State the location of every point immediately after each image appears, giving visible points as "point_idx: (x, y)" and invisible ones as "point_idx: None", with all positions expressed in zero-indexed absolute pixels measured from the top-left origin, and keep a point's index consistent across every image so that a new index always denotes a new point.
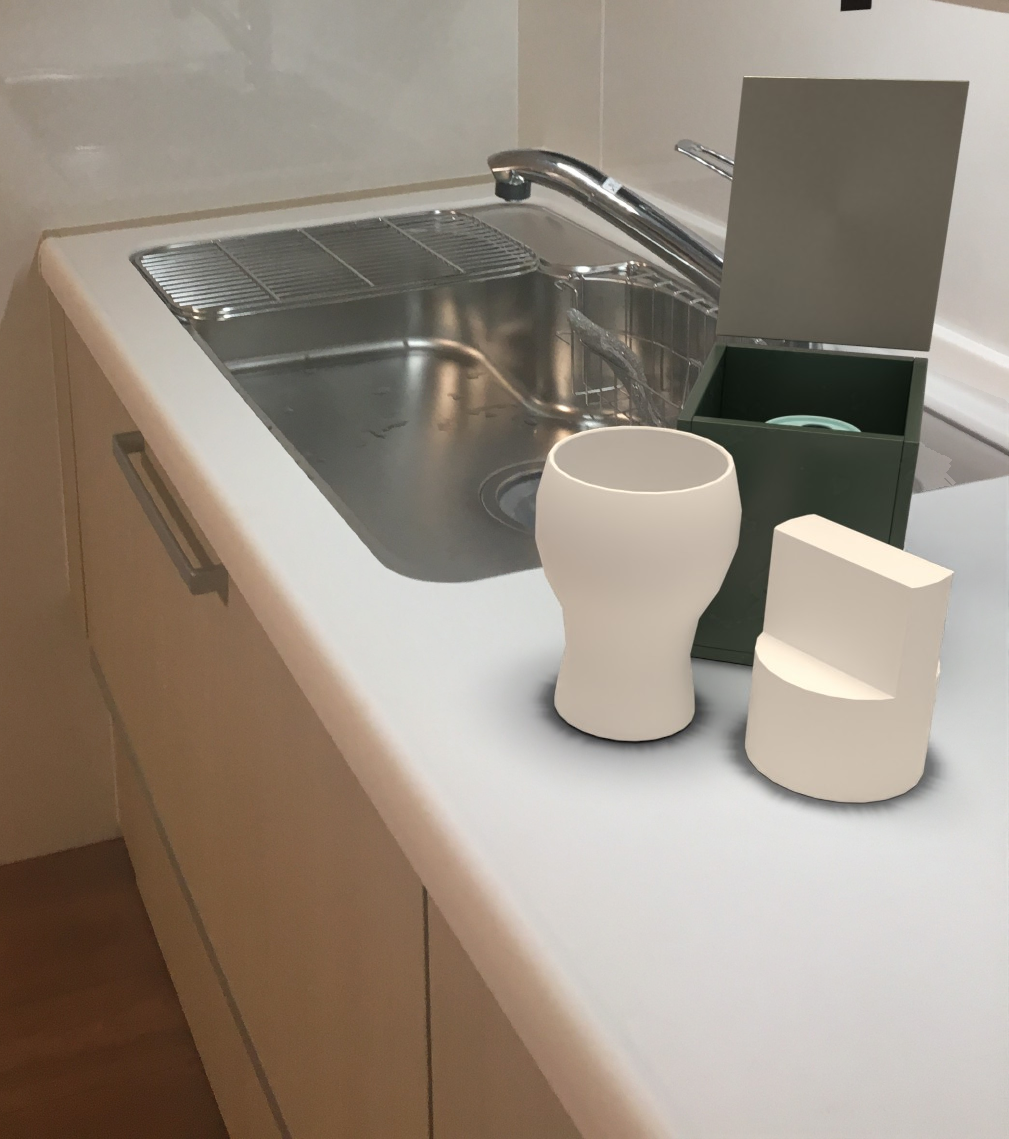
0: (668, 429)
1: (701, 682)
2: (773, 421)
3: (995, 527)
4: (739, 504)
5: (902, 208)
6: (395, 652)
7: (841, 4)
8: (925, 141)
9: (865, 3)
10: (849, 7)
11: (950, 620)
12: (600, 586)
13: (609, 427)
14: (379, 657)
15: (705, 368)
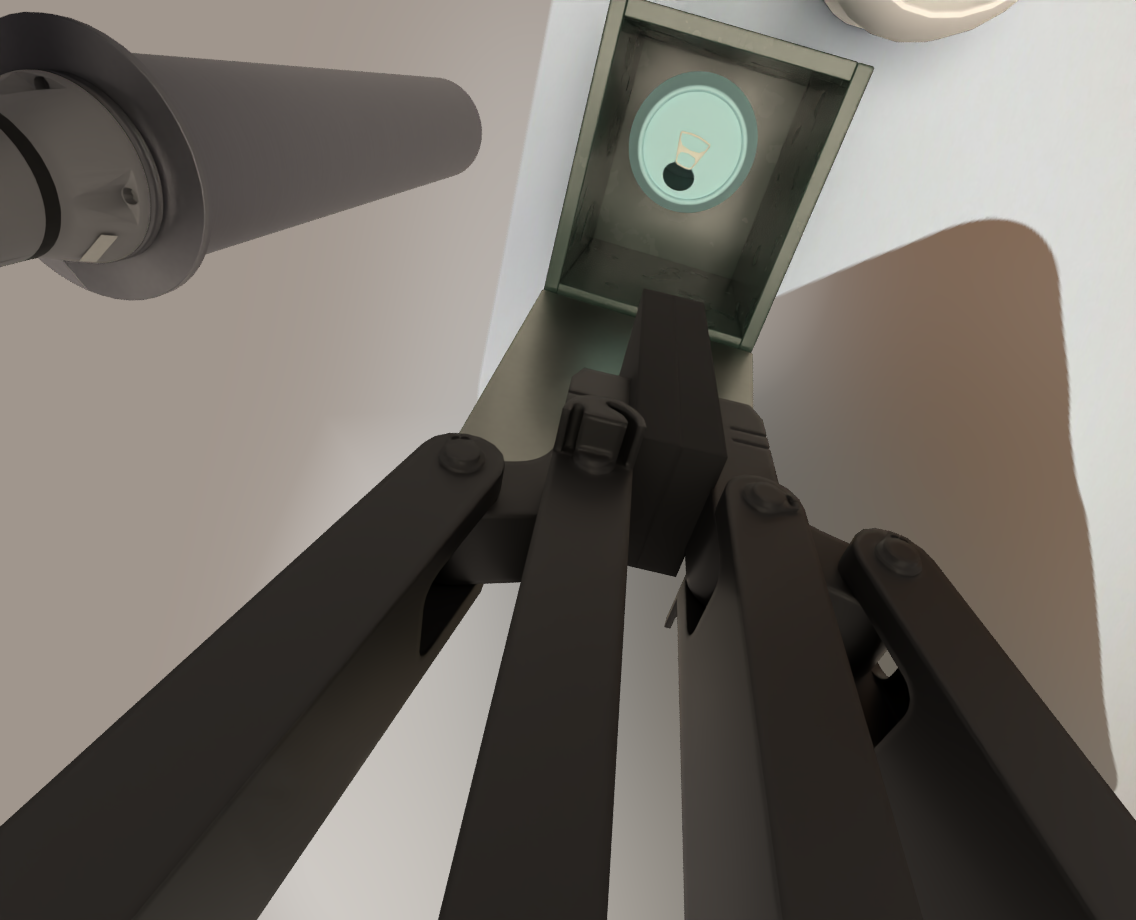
0: (906, 3)
1: (796, 14)
2: (722, 186)
3: (487, 337)
4: None
5: (552, 378)
6: (1091, 54)
7: (703, 307)
8: (514, 422)
9: (654, 295)
10: (686, 300)
11: (556, 160)
12: None
13: (981, 10)
14: (1113, 40)
15: (787, 260)
